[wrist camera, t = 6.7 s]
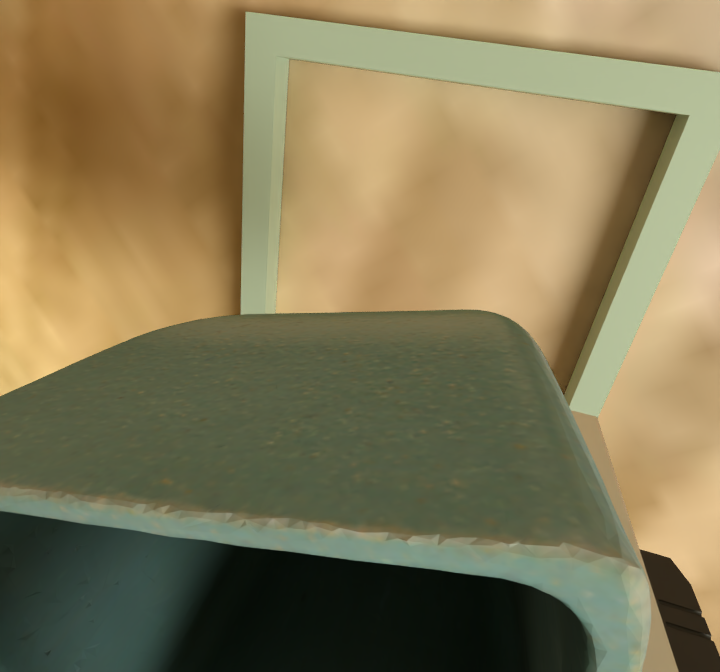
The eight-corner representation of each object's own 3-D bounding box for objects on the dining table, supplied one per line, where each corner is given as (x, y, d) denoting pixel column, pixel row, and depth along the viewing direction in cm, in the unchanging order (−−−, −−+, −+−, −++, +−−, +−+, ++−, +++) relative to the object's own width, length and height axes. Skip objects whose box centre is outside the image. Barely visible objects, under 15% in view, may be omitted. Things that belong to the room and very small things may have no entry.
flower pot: (274, 497, 17) (82, 835, 9) (210, 256, 13) (-196, 470, 6) (537, 521, 14) (585, 1014, 7) (545, 232, 11) (669, 562, 3)
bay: (250, 380, 31) (239, 392, 30) (260, 17, 22) (245, 11, 20) (565, 463, 28) (568, 481, 26) (734, 78, 19) (752, 76, 17)
